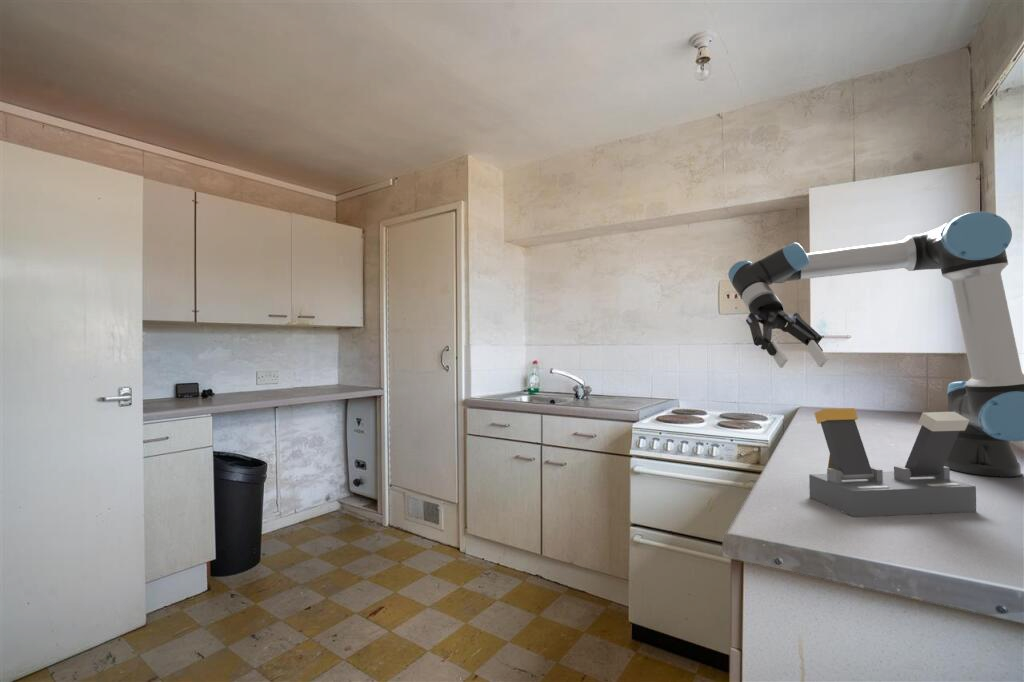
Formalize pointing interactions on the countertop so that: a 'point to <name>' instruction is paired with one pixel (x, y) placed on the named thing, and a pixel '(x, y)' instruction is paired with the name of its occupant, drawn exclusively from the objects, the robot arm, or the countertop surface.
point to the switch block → (893, 493)
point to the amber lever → (845, 443)
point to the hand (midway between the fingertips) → (803, 363)
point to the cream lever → (934, 442)
